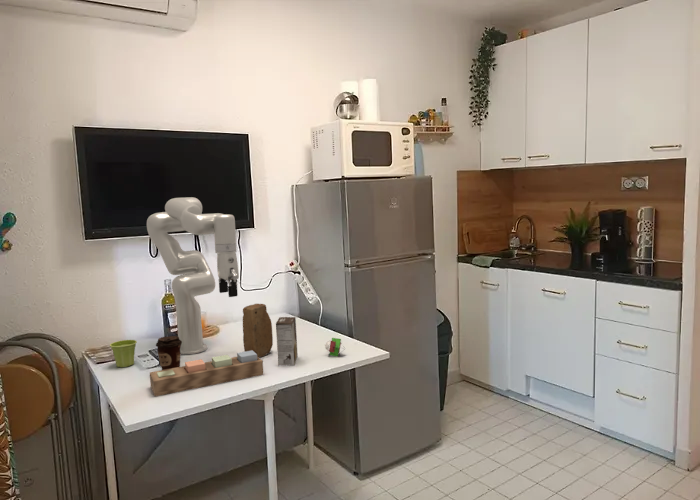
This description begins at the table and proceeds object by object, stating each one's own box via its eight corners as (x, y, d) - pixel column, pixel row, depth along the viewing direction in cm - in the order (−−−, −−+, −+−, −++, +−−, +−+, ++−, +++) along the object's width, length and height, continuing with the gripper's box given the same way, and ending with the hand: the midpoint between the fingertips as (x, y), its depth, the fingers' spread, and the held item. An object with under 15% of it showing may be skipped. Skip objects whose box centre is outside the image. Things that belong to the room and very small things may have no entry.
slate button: (242, 368, 182) (241, 357, 182) (237, 363, 187) (237, 352, 187) (257, 365, 185) (257, 354, 184) (252, 361, 190) (252, 350, 189)
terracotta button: (188, 378, 174) (188, 366, 174) (185, 373, 179) (184, 362, 178) (206, 375, 177) (205, 363, 176) (202, 370, 181) (201, 359, 181)
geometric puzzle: (336, 344, 209) (328, 332, 204) (350, 347, 205) (342, 334, 200) (327, 359, 205) (319, 346, 200) (342, 362, 201) (333, 349, 196)
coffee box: (281, 358, 202) (279, 316, 200) (298, 357, 201) (296, 316, 200) (277, 366, 192) (275, 322, 191) (294, 365, 192) (292, 322, 190)
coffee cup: (168, 378, 183) (165, 342, 182) (153, 375, 188) (150, 339, 186) (188, 371, 191) (185, 336, 189) (172, 367, 195) (170, 333, 194)
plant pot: (112, 363, 203) (110, 341, 202) (138, 359, 206) (136, 338, 205) (111, 370, 194) (109, 348, 193) (139, 366, 198) (137, 344, 197)
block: (254, 359, 201) (251, 308, 198) (242, 356, 205) (239, 306, 203) (276, 352, 209) (273, 303, 207) (263, 349, 214) (260, 301, 211)
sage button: (216, 373, 178) (215, 361, 178) (212, 368, 183) (211, 357, 183) (232, 370, 181) (231, 358, 180) (228, 365, 186) (227, 354, 185)
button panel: (154, 396, 167) (153, 380, 167) (150, 386, 176) (149, 371, 175) (263, 374, 184) (262, 360, 183) (254, 366, 192) (253, 352, 192)
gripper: (244, 249, 187) (246, 296, 189) (227, 245, 201) (229, 289, 203) (223, 251, 183) (226, 299, 185) (208, 247, 197) (210, 292, 199)
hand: (228, 294), depth 194 cm, fingers open, 9 cm apart
